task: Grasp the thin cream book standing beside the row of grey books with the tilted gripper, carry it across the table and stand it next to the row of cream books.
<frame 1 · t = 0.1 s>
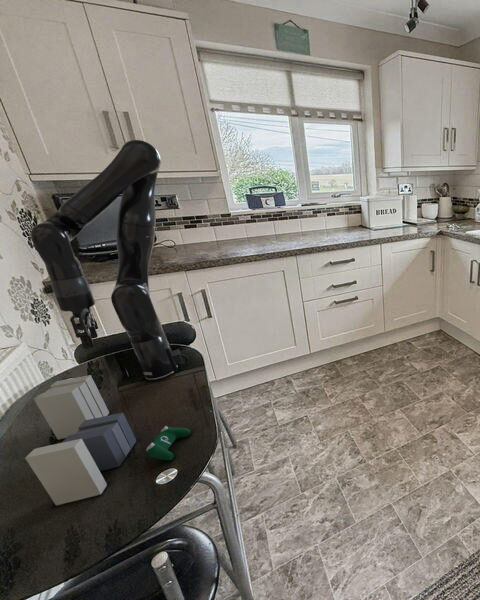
hand: (91, 342, 100), 17 cm above the table, tool pointing down, fingers open, 8 cm apart
gaming controller: (171, 448, 80), on the table
white books: (84, 425, 90), on the table
grey books: (109, 457, 78), on the table
white book: (82, 494, 69), on the table
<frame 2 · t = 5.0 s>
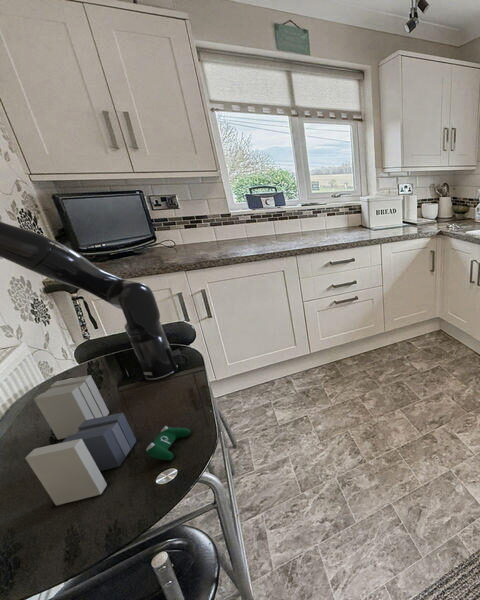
nothing on the table moved.
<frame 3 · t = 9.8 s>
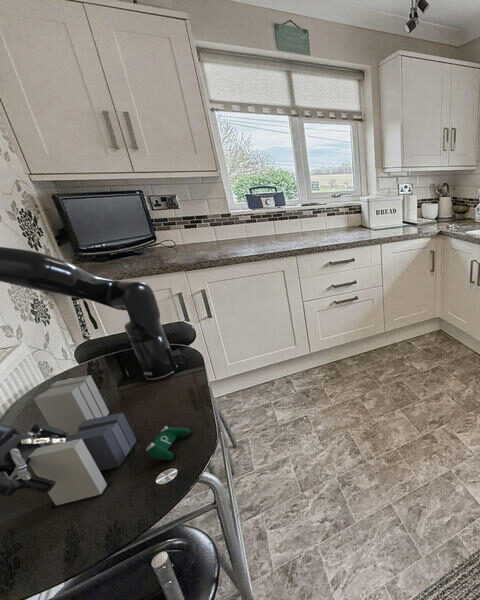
hand: (68, 469, 66), 7 cm above the table, tool tilted 45°, fingers open, 8 cm apart
nothing on the table moved.
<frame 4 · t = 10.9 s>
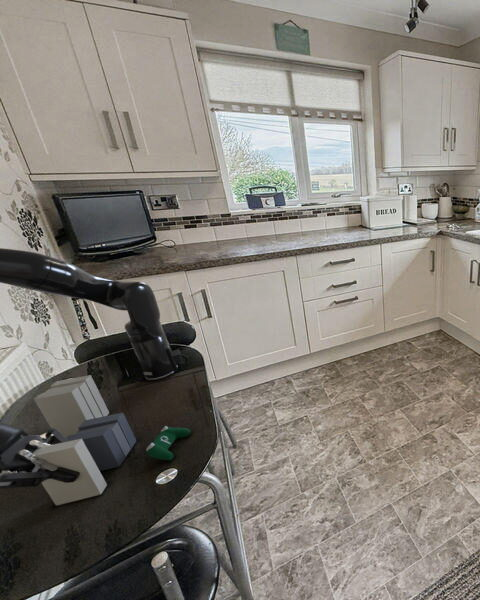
hand: (81, 471, 67), 6 cm above the table, tool tilted 45°, fingers closed on white book, 2 cm apart
white book: (82, 495, 69), on the table, touching gripper
everything else where it was.
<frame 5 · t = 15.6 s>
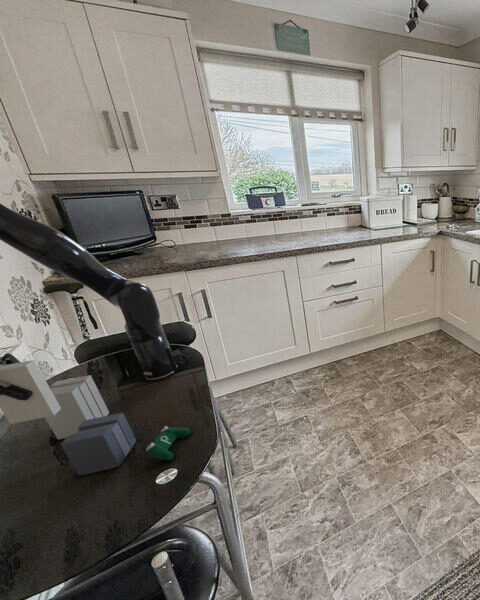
hand: (34, 392, 71), 20 cm above the table, tool tilted 45°, fingers closed on white book, 2 cm apart
white book: (36, 416, 73), point 14 cm above the table, touching gripper
everything else where it was.
when the fingers open (7 cm above the table, at t = 20.4 s): white book stays where it is, on the table.
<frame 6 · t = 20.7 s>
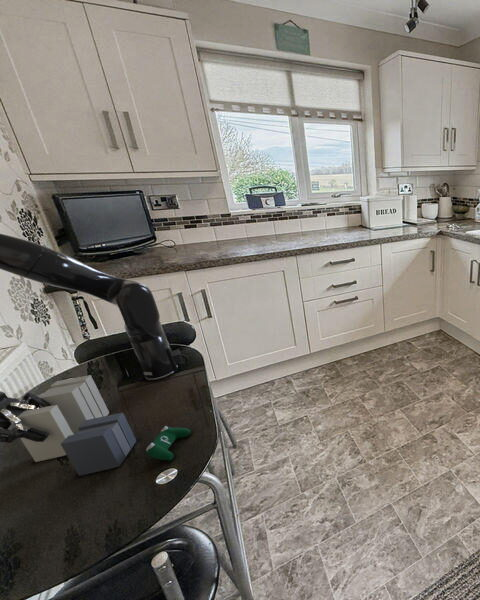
hand: (54, 429, 78), 7 cm above the table, tool tilted 45°, fingers open, 4 cm apart
white book: (58, 454, 81), on the table
everything else where it was.
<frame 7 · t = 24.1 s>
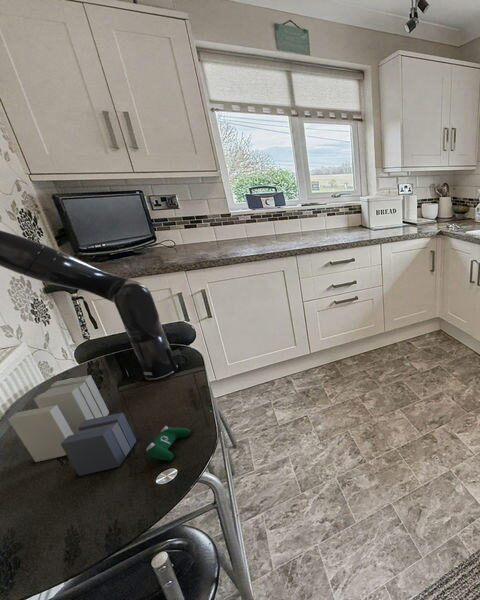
nothing on the table moved.
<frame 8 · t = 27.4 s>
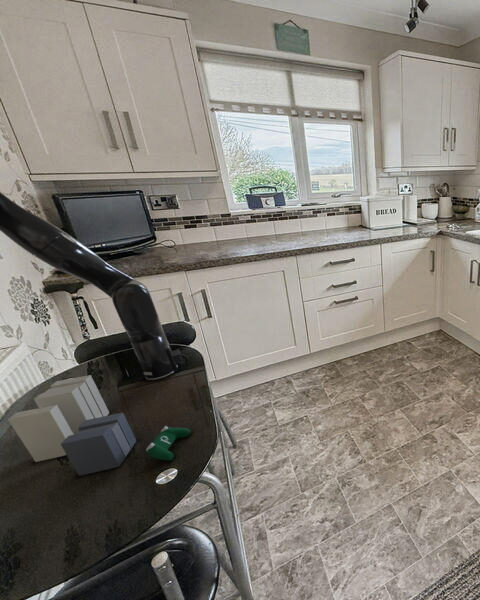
nothing on the table moved.
at the end: white book 0.1 cm from the target spot on the table beside the white books, on the table; white book tilted 0°; the gripper is holding nothing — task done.
